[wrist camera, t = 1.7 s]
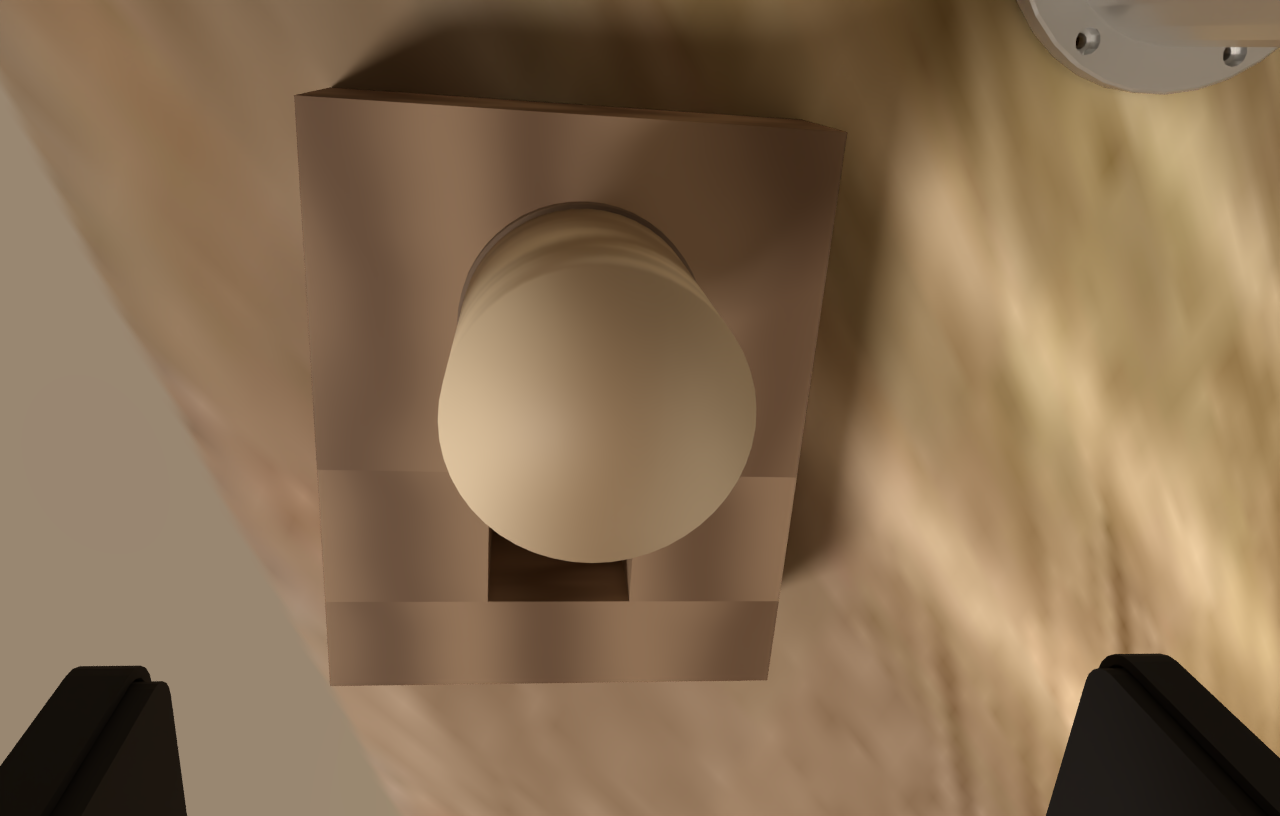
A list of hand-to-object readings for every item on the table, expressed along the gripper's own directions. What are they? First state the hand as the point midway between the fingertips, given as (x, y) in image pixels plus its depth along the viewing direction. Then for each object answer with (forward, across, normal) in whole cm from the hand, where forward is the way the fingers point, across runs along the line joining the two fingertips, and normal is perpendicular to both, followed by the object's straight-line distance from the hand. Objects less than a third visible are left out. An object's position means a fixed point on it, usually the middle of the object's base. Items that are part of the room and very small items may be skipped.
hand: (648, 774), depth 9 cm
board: (+26, 0, +5) cm, 26 cm away
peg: (+21, 0, 0) cm, 21 cm away
